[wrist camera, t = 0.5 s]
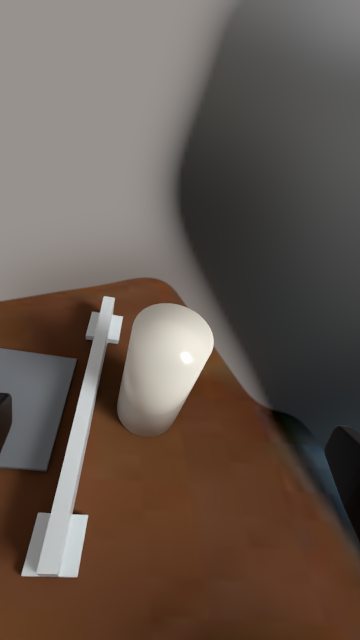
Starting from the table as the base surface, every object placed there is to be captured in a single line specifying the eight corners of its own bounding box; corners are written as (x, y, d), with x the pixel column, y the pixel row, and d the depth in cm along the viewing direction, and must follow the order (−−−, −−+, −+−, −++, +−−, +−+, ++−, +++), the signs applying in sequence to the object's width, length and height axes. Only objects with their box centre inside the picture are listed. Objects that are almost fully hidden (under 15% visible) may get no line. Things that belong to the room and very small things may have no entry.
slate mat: (46, 471, 21) (46, 469, 21) (-103, 460, 20) (-106, 458, 19) (76, 361, 27) (76, 358, 27) (-36, 345, 26) (-37, 343, 25)
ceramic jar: (175, 440, 25) (216, 374, 17) (112, 433, 24) (127, 362, 17) (176, 384, 28) (211, 310, 21) (121, 377, 27) (136, 297, 20)
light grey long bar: (77, 577, 18) (77, 574, 16) (22, 576, 17) (14, 573, 15) (122, 320, 31) (125, 299, 29) (91, 315, 31) (93, 294, 29)
